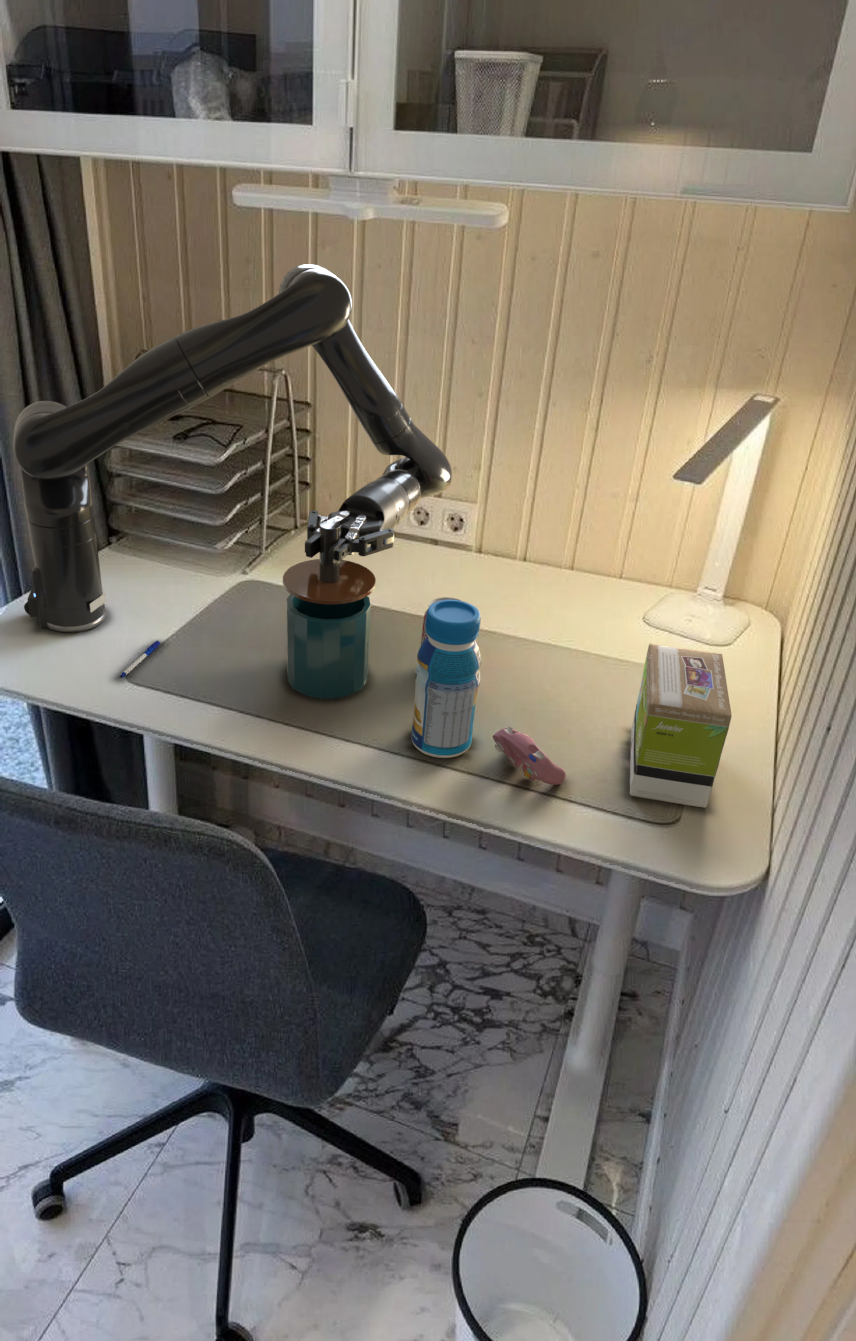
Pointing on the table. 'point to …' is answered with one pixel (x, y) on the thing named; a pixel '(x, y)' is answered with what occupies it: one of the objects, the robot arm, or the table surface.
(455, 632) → the beverage bottle
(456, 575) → the table surface
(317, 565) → the jug lid
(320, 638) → the teal cup
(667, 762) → the tea box
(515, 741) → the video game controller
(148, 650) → the ballpoint pen
